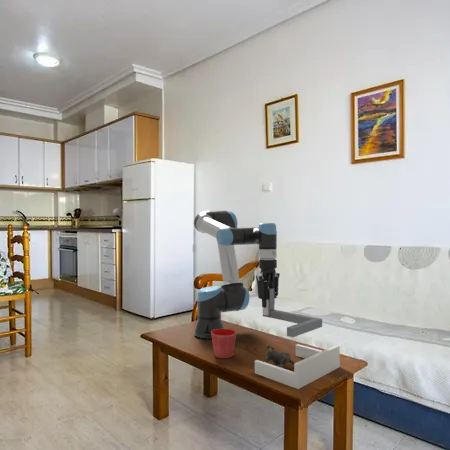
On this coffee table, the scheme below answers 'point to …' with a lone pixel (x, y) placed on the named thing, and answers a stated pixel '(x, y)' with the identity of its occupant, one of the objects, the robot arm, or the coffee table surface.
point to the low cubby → (302, 366)
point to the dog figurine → (278, 357)
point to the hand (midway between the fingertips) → (268, 313)
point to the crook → (292, 318)
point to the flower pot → (223, 342)
